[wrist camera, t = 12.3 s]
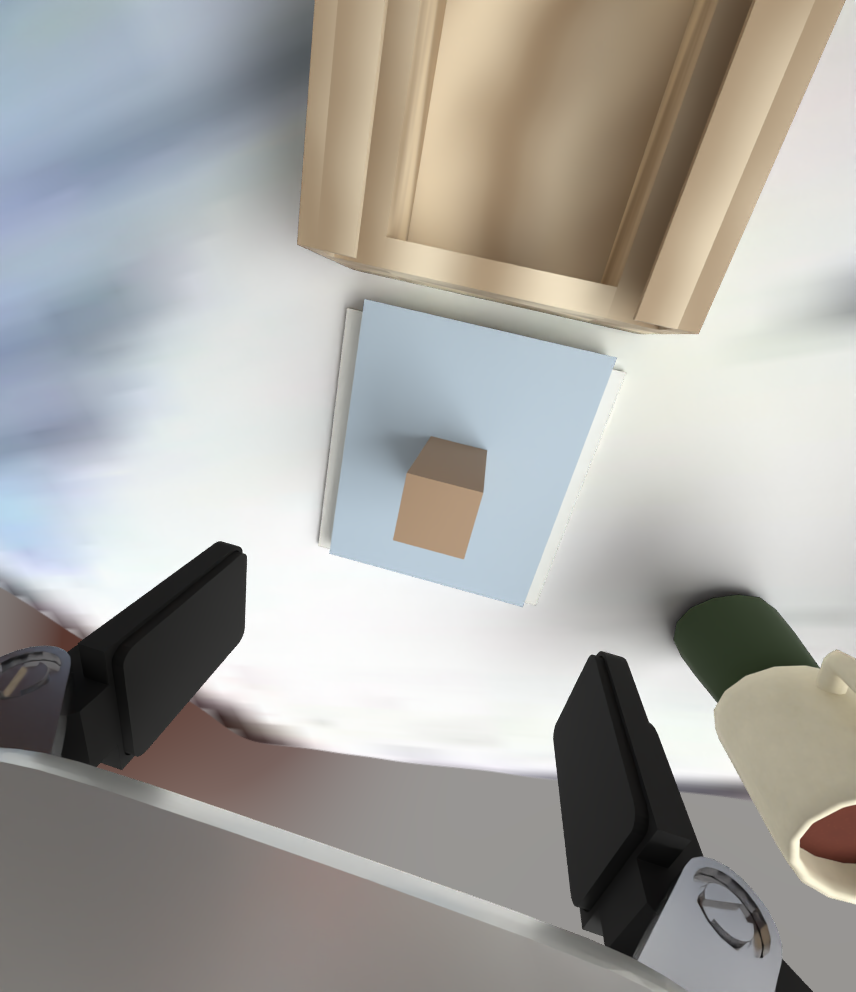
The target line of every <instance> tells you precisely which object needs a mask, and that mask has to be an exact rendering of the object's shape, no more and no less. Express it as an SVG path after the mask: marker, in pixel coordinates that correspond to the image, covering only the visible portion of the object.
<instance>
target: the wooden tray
mask: <svg viewBox="0 0 856 992" xmlns="http://www.w3.org/2000/svg"><path fill="white" fill-rule="evenodd" d="M845 1H846V0H315V5H314V19H313V33H312V46H311V60H310V74H309V87H308V101H307V115H306V129H305V142H304V156H303V170H302V184H301V197H300V211H299V225H298V239H297V245H299V246H302V247H304V248H306V249H308V250H311V251H313V252H315V253H317V254H319V255H322V256H324V257H326V258H328V259H331V260H333V261H335V262H337V263H340V264H342V265H344V266H346V267H348V268H351V269H353V270H357V271H361V272H366V273H370V274H375V275H379V276H383V277H388V278H392V279H397V280H401V281H406V282H410V283H415V284H419V285H423V286H428V287H432V288H437V289H441V290H446V291H450V292H455V293H459V294H463V295H468V296H472V297H477V298H481V299H486V300H490V301H495V302H499V303H503V304H508V305H512V306H517V307H521V308H526V309H530V310H535V311H539V312H543V313H548V314H552V315H557V316H561V317H566V318H570V319H575V320H579V321H583V322H588V323H592V324H597V325H601V326H606V327H610V328H615V329H619V330H623V331H628V332H632V333H637V334H699V332H700V330H701V327H702V325H703V323H704V321H705V318H706V316H707V314H708V311H709V309H710V307H711V305H712V302H713V300H714V298H715V296H716V293H717V291H718V289H719V287H720V284H721V282H722V280H723V277H724V275H725V273H726V271H727V268H728V266H729V264H730V262H731V259H732V257H733V255H734V252H735V250H736V248H737V246H738V243H739V241H740V239H741V237H742V234H743V232H744V230H745V228H746V225H747V223H748V221H749V218H750V216H751V214H752V212H753V209H754V207H755V205H756V203H757V200H758V198H759V196H760V193H761V191H762V189H763V187H764V184H765V182H766V180H767V178H768V175H769V173H770V171H771V168H772V166H773V164H774V162H775V159H776V157H777V155H778V153H779V150H780V148H781V146H782V144H783V141H784V139H785V137H786V134H787V132H788V130H789V128H790V125H791V123H792V121H793V119H794V116H795V114H796V112H797V109H798V107H799V105H800V103H801V100H802V98H803V96H804V94H805V91H806V89H807V87H808V85H809V82H810V80H811V78H812V75H813V73H814V71H815V69H816V66H817V64H818V62H819V60H820V57H821V55H822V53H823V50H824V48H825V46H826V44H827V41H828V39H829V37H830V35H831V32H832V30H833V28H834V25H835V23H836V21H837V19H838V16H839V14H840V12H841V10H842V7H843V5H844V3H845Z"/></svg>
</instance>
